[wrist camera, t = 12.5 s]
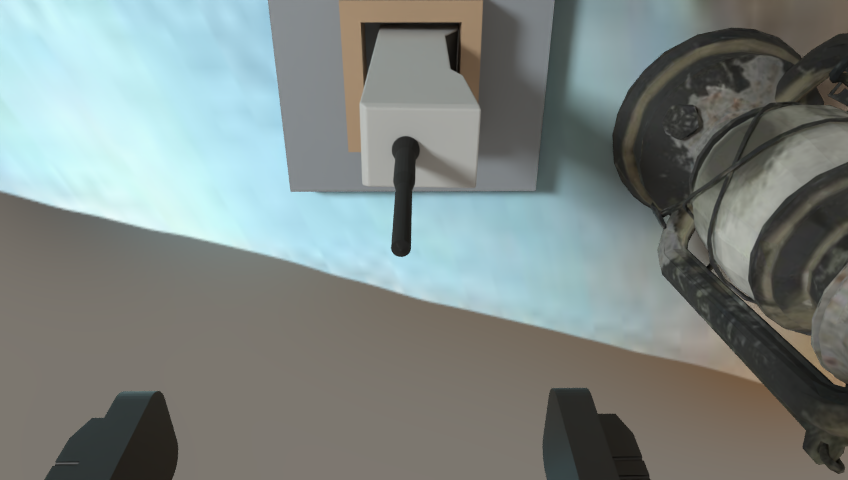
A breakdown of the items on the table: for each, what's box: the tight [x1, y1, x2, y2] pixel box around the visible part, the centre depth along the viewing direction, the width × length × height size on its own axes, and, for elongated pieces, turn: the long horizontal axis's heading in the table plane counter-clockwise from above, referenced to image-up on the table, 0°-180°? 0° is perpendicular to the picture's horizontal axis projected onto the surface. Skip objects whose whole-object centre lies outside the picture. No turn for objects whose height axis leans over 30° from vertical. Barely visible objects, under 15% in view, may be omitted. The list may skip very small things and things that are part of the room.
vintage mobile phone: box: [360, 24, 481, 257], centre depth 30 cm, size 4×5×25 cm
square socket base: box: [268, 0, 555, 192], centre depth 41 cm, size 18×18×5 cm
